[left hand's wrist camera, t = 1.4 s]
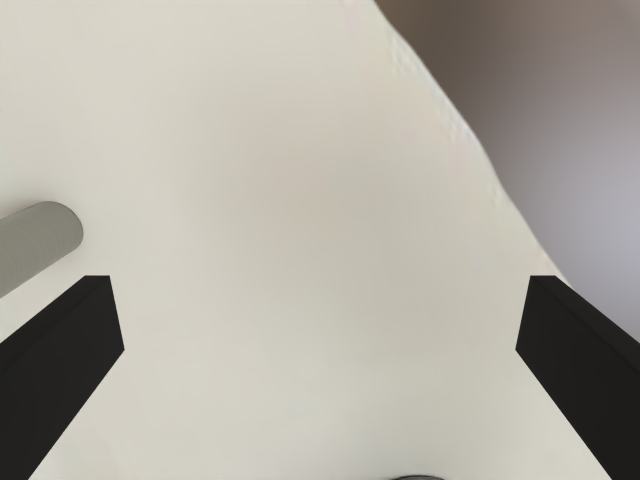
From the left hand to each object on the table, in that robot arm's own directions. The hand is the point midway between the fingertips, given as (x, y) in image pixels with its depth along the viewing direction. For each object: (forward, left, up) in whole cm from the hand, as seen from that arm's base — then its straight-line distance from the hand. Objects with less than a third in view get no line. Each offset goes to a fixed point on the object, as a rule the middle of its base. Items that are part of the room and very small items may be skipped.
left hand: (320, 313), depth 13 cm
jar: (-7, +27, -28) cm, 40 cm away
